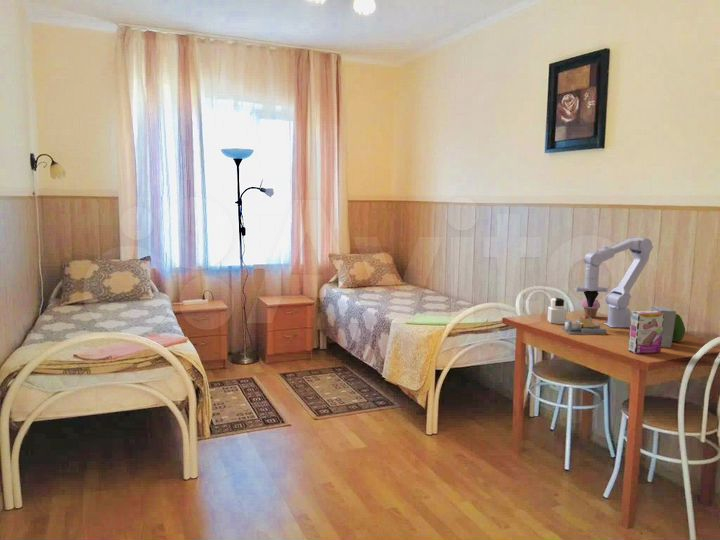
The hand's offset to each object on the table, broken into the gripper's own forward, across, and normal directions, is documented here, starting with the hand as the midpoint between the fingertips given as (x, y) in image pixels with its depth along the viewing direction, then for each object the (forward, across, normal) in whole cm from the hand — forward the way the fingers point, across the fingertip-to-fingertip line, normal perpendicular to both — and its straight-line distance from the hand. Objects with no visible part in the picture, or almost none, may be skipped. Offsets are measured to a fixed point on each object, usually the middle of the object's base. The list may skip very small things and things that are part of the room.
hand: (590, 306), depth 258 cm
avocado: (+10, -26, +25) cm, 37 cm away
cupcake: (+10, -10, -23) cm, 27 cm away
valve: (+9, +5, +9) cm, 14 cm away
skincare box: (+10, -17, +31) cm, 37 cm away
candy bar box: (+10, -5, +42) cm, 43 cm away
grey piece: (+10, +6, +9) cm, 15 cm away
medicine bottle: (+10, +12, -10) cm, 19 cm away
